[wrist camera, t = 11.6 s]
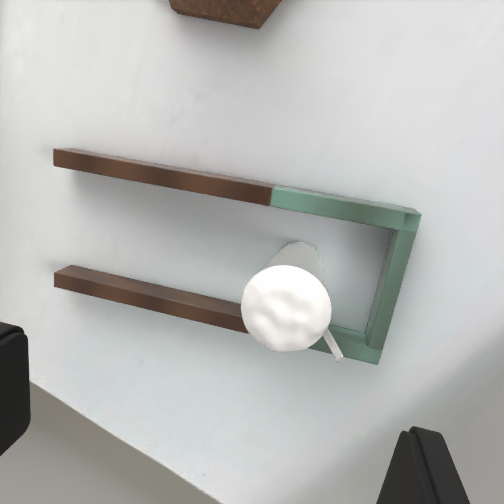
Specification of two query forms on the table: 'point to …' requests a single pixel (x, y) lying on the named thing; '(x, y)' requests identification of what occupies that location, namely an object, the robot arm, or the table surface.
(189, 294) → the slide track
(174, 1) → the robot figurine
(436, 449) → the robot arm
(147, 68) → the table surface
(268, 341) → the milkshake
